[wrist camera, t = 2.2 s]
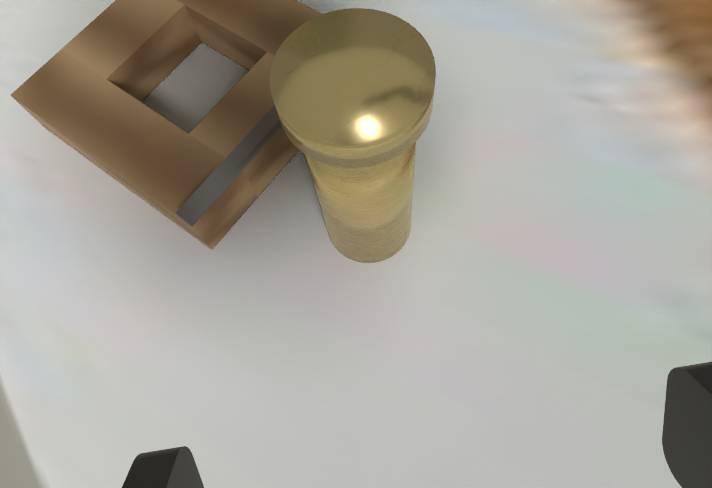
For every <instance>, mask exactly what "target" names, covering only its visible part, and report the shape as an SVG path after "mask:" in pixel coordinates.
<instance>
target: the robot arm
mask: <svg viewBox="0 0 712 488" xmlns="http://www.w3.org/2000/svg"><path fill="white" fill-rule="evenodd" d="M662 444H663V451H664V455H665V458H666V461H667V464H668V466H669V468H670V470H671V472H672V474H673V476H674V477H675V479H676V480H677V481H678V483H679V484H680V485H681V487H682V488H712V362H708V363H702V364H696V365H689V366H683V367H677V368H674V369H672V370H671V371H670V373H669V375H668V379H667V390H666V401H665V413H664V424H663V436H662ZM122 488H204V486H203V483H202V480H201V478H200V475H199V472H198V469H197V466H196V463H195V461H194V458H193V455H192V453H191V451H190V449H189V448H188V447H185V446H184V447H177V448H171V449H165V450H159V451H153V452H147V453H141V454H139V455H138V456H137V457H136V458H135V460H134V462H133V464H132V466H131V468H130V470H129V473H128V475H127V477H126V480H125V482H124V484H123V487H122Z"/></svg>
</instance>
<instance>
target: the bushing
mask: <svg viewBox="0 0 712 488" xmlns="http://www.w3.org/2000/svg"><path fill="white" fill-rule="evenodd" d="M435 76H436V73H435V61H434V57H433V54H432V51H431V49H430V47H429V45H428V43H427V42H426V40H425V39H424V38H423V36H422V35H421V34H420V33H419V32H418V31H417V30H416V29H415V28H414V27H413V26H411V25H410V24H409V23H407V22H406V21H404V20H402V19H400V18H398V17H396V16H394V15H391V14H389V13H385V12H382V11H377V10H372V9H361V8H358V9H343V10H337V11H333V12H329V13H326V14H323V15H320V16H318V17H315V18H313V19H311V20H309V21H308V22H306V23H304V24H302V25H301V26H300V27H298V28H297V29H296V30H294V31H293V32H292V33H291V34H290V35H289V36H288V37H287V38H286V39H285V41H284V42H283V43H282V44H281V46H280V47H279V49H278V50H277V52H276V54H275V57H274V59H273V62H272V65H271V69H270V76H269V81H270V90H271V95H272V98H273V101H274V104H275V107H276V110H277V113H278V116H279V118H280V121H281V124H282V127H283V130H284V131H285V133H286V135H287V137H288V138H289V139H290V141H291V142H292V143H293V144H294V145H295V146H296V147H297V148H298V149H299V150H300V151H301V152H303V153H304V154H305V155H306V159H307V162H308V165H309V169H310V172H311V175H312V179H313V182H314V186H315V189H316V192H317V196H318V199H319V202H320V206H321V209H322V213H323V216H324V219H325V223H326V226H327V229H328V233H329V236H330V239H331V241H332V243H333V245H334V246H335V247H336V249H337V250H338V251H339V252H340V253H342V254H343V255H344V256H346V257H348V258H349V259H352V260H354V261H358V262H364V263H372V262H379V261H382V260H385V259H387V258H389V257H391V256H393V255H394V254H396V253H397V252H398V251H399V250H400V249H401V248H402V247H403V245H404V244H405V242H406V240H407V238H408V236H409V233H410V226H411V210H412V194H413V177H414V161H415V145H416V140H417V139H418V138H419V137H420V136H421V134H422V133H423V131H424V130H425V128H426V126H427V124H428V122H429V119H430V116H431V112H432V105H433V95H434V86H435Z"/></svg>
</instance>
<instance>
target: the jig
mask: <svg viewBox="0 0 712 488" xmlns="http://www.w3.org/2000/svg"><path fill="white" fill-rule="evenodd" d="M320 15H323V14H321V13H319V12H317V11H315V10H313V9H312V8H310V7H308V6H306V5H304V4H302V3H300V2H298V1H296V0H116V1H115V2H114V3H112V4H111V5H110V6H109V7H108V8H107V9H106V10H105V11H104V12H102V13H101V14H100V15H99V16H98V17H97V18H96V19H95V20H94V21H92V22H91V23H90V24H89V25H88V26H87V27H86V28H85V29H84V30H82V31H81V32H80V33H79V34H78V35H77V36H76V37H75V38H73V39H72V40H71V41H70V42H69V43H68V44H67V45H66V46H65V47H63V48H62V49H61V50H60V51H59V52H58V53H57V54H56V55H55V56H53V57H52V58H51V59H50V60H49V61H48V62H47V63H46V64H45V65H43V66H42V67H41V68H40V69H39V70H38V71H37V72H36V73H35V74H33V75H32V76H31V77H30V78H29V79H28V80H27V81H26V82H24V83H23V84H22V85H21V86H20V87H19V88H18V89H17V90H16V91H14V92H13V93H12V94H11V96H12V97H13V98H14V99H15V100H16V101H17V102H18V103H19V104H20V105H21V106H22V107H23V108H25V109H26V110H27V111H28V112H29V113H30V114H31V115H32V116H33V117H34V118H35V119H36V120H37V121H38V122H39V123H40V124H41V125H42V126H43V127H45V128H46V129H48V130H49V131H50V132H52V133H53V134H54V135H56V136H57V137H58V138H60V139H61V140H63V141H64V142H65V143H67V144H68V145H69V146H71V147H72V148H74V149H75V150H76V151H78V152H79V153H80V154H82V155H83V156H84V157H86V158H87V159H89V160H90V161H91V162H93V163H94V164H95V165H97V166H98V167H99V168H101V169H102V170H104V171H105V172H106V173H108V174H109V175H110V176H112V177H113V178H115V179H116V180H117V181H119V182H120V183H121V184H123V185H124V186H125V187H127V188H128V189H130V190H131V191H132V192H134V193H135V194H136V195H138V196H139V197H140V198H142V199H143V200H145V201H146V202H147V203H149V204H150V205H151V206H153V207H154V208H156V209H157V210H158V211H160V212H161V213H162V214H164V215H165V216H166V217H168V218H169V219H171V220H172V221H173V222H175V223H176V224H177V225H179V226H180V227H181V228H183V229H184V230H186V231H187V232H188V233H190V234H191V235H192V236H194V237H195V238H197V239H198V240H199V241H201V242H202V243H203V244H205V245H206V246H207V247H209V248H210V249H213V248H214V247H215V246H216V244H217V243H218V242H219V241H220V240H221V239H222V238H223V236H224V235H225V234H226V233H227V232H228V231H229V230H230V228H231V227H232V226H233V225H234V224H235V223H236V222H237V220H238V219H239V218H240V217H241V216H242V215H243V213H244V212H245V211H246V210H247V209H248V208H249V207H250V205H251V204H252V203H253V202H254V201H255V200H256V199H257V197H258V196H259V195H260V194H261V193H262V192H263V191H264V189H265V188H266V187H267V186H268V185H269V184H270V182H271V181H272V180H273V179H274V178H275V177H276V176H277V174H278V173H279V172H280V171H281V170H282V169H283V168H284V166H285V165H286V164H287V163H288V162H289V161H290V159H291V158H292V157H293V156H294V155H295V154H296V153H297V151H298V150H299V149H298V148H297V147H296V146H295V145H294V144H293V143H292V142H291V141H290V139H289V138H288V137H287V135H286V133H285V131H284V130H283V127H282V124H281V121H280V118H279V116H278V113H277V110H276V107H275V104H274V101H273V98H272V95H271V90H270V81H269V76H270V69H271V65H272V62H273V59H274V57H275V54H276V52H277V50H278V49H279V47H280V46H281V44H282V43H283V42H284V41H285V39H286V38H287V37H288V36H289V35H290V34H291V33H292V32H293V31H294V30H296V29H297V28H298V27H300V26H301V25H302V24H304V23H306V22H308V21H309V20H311V19H313V18H315V17H318V16H320ZM201 42H203V43H204V44H206V45H208V46H209V47H211V48H213V49H214V50H216V51H218V52H220V53H221V54H223V55H225V56H226V57H228V58H230V59H231V60H233V61H235V62H237V63H238V64H240V65H242V66H243V67H245V68H247V69H248V70H250V71H249V72H248V73H247V74H246V75H245V76H244V77H243V78H242V79H241V80H240V81H239V82H238V83H237V84H236V85H235V86H234V87H233V88H232V89H231V90H230V91H229V92H228V94H227V95H226V96H225V97H224V98H223V99H222V100H221V101H220V102H219V103H218V104H217V105H216V106H215V107H214V108H213V109H212V110H211V111H210V112H209V113H208V114H207V115H206V116H205V118H204V119H203V120H202V121H201V122H200V123H199V124H198V125H197V126H196V127H195V128H194V129H193V130H192V131H191V132H190V133H189V134H188V133H187V132H185V131H184V130H182V129H181V128H179V127H178V126H176V125H175V124H173V123H172V122H170V121H169V120H167V119H166V118H164V117H163V116H161V115H160V114H158V113H157V112H155V111H154V110H152V109H150V108H149V107H147V106H146V105H144V104H143V103H141V101H142V100H143V99H144V98H145V97H146V96H147V95H148V94H150V93H151V92H152V91H153V90H154V89H155V88H156V87H157V86H158V85H159V84H160V83H161V82H162V81H163V80H164V79H165V78H166V77H167V76H168V75H169V74H170V73H171V72H172V71H173V70H174V69H175V68H176V67H177V66H178V65H179V64H180V63H181V62H182V61H183V60H184V59H185V58H186V57H187V56H188V55H189V54H190V53H191V52H192V51H193V50H194V49H195V48H196V47H197V46H198V45H199V44H200V43H201Z"/></svg>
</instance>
